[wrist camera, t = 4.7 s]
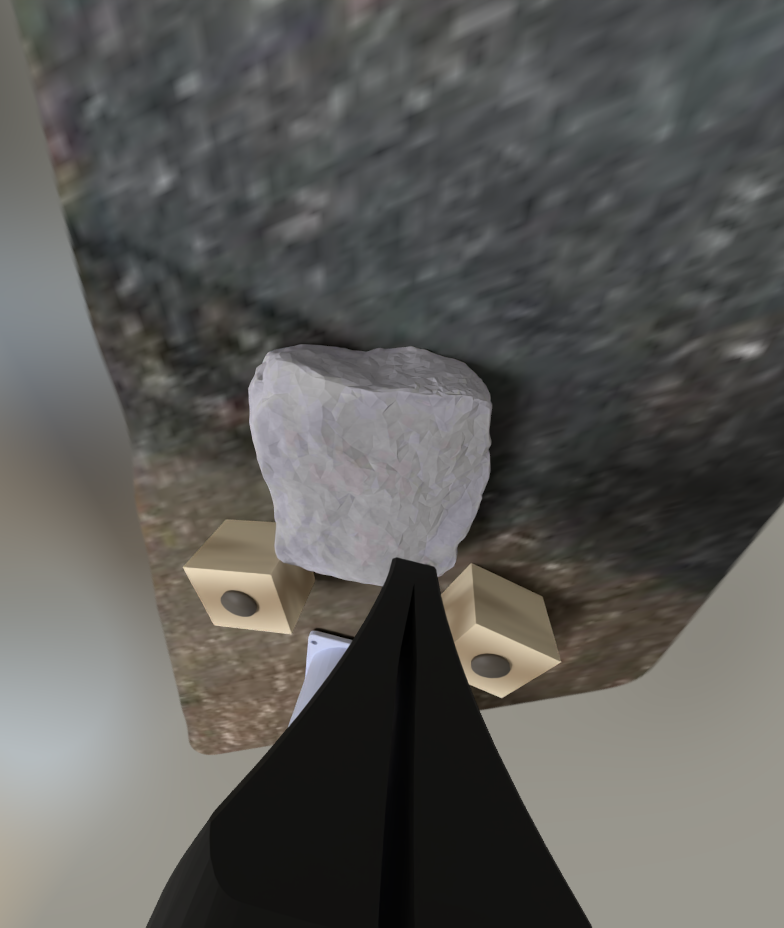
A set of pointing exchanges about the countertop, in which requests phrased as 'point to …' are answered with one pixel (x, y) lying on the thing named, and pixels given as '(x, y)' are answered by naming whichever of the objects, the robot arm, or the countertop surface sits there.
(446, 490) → the stone block
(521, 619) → the beech block
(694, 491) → the countertop surface
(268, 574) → the beech block
